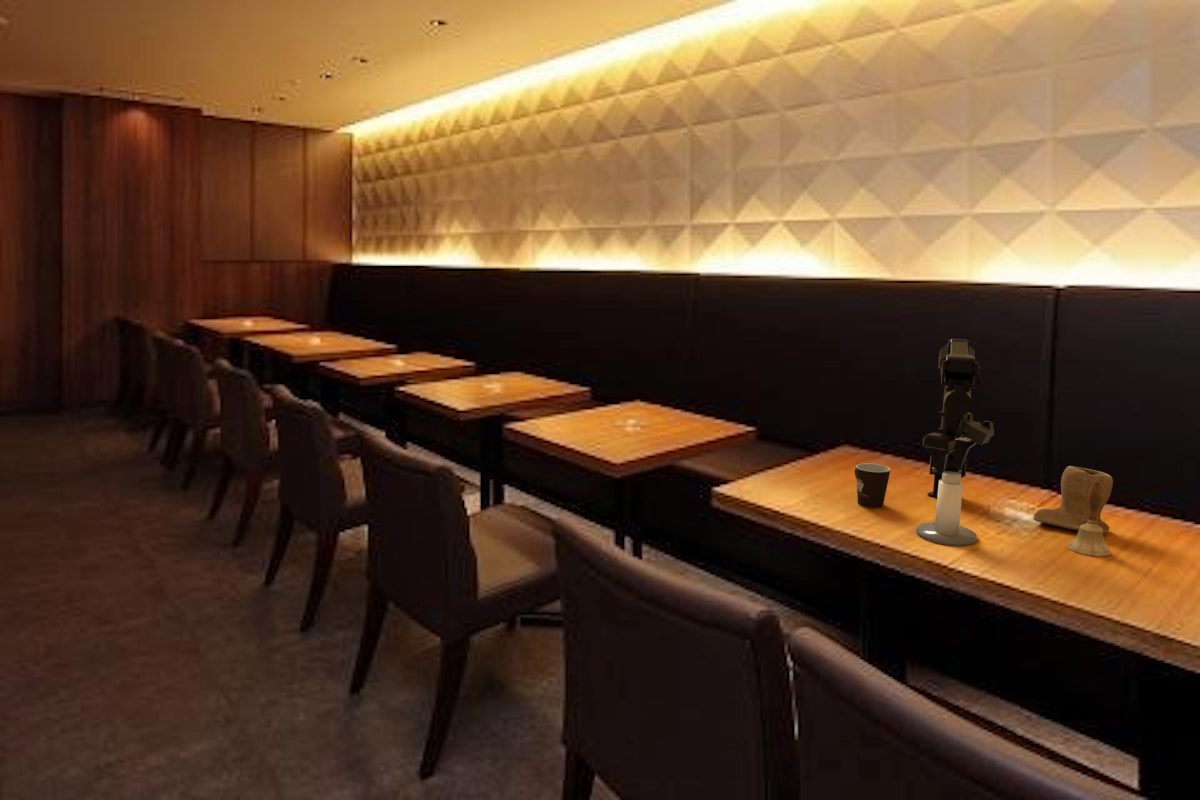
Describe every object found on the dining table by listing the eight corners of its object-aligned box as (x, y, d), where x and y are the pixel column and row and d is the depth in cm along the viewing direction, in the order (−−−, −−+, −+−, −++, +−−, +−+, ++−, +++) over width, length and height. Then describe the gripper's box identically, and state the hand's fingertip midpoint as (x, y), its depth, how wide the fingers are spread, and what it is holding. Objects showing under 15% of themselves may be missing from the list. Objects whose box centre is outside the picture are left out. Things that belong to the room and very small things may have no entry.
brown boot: (1113, 528, 191) (1121, 468, 188) (1104, 541, 182) (1112, 478, 179) (1043, 514, 201) (1050, 457, 198) (1031, 526, 192) (1038, 466, 189)
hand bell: (1059, 543, 180) (1067, 476, 177) (1093, 543, 181) (1101, 476, 178) (1083, 557, 172) (1092, 487, 169) (1119, 556, 173) (1129, 486, 170)
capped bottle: (947, 526, 188) (952, 470, 185) (963, 534, 183) (969, 476, 180) (929, 529, 186) (934, 471, 184) (945, 536, 181) (950, 477, 179)
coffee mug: (890, 510, 203) (893, 473, 201) (855, 508, 204) (857, 471, 202) (883, 497, 214) (886, 461, 212) (850, 495, 215) (852, 459, 214)
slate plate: (932, 522, 194) (932, 518, 193) (986, 537, 184) (986, 532, 184) (905, 534, 185) (906, 530, 185) (960, 550, 176) (961, 545, 175)
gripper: (972, 418, 176) (965, 485, 179) (1007, 409, 188) (1000, 472, 191) (924, 411, 185) (918, 475, 187) (960, 402, 197) (955, 463, 199)
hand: (949, 471), depth 191 cm, fingers open, 9 cm apart
